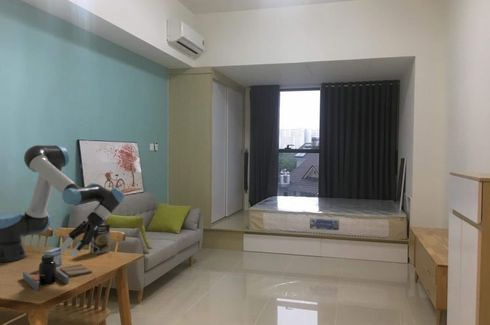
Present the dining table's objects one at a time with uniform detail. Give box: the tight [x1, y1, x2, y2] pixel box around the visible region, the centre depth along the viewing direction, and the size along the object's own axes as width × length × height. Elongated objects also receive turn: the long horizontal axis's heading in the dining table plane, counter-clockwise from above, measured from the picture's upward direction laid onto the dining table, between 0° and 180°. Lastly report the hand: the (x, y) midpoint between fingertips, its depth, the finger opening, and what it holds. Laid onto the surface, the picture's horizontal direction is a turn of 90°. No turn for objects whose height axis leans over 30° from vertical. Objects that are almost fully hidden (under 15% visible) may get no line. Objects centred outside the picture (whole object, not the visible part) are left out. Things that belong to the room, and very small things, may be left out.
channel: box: [22, 267, 70, 291], centre depth 176 cm, size 20×13×3 cm
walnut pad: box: [59, 263, 93, 278], centre depth 190 cm, size 14×10×1 cm
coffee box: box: [89, 222, 111, 255], centre depth 225 cm, size 9×6×16 cm
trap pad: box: [32, 274, 39, 282], centre depth 180 cm, size 6×9×1 cm, turn 133°
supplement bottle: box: [38, 254, 57, 286], centre depth 173 cm, size 7×7×12 cm
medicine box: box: [43, 247, 63, 268], centre depth 197 cm, size 8×4×9 cm, turn 168°
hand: (66, 252), depth 178 cm, fingers open, 13 cm apart
